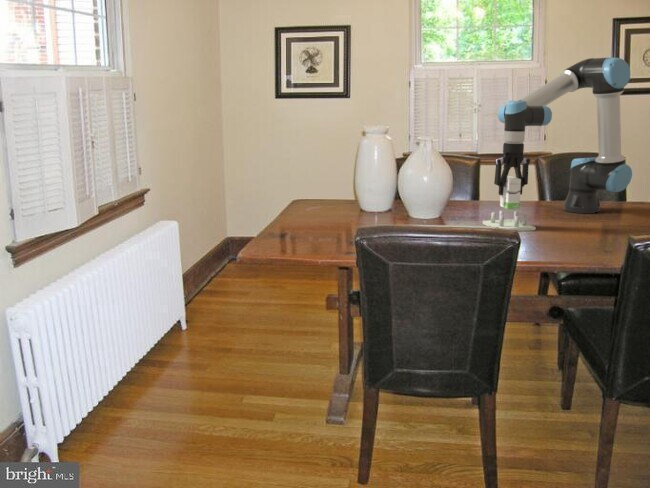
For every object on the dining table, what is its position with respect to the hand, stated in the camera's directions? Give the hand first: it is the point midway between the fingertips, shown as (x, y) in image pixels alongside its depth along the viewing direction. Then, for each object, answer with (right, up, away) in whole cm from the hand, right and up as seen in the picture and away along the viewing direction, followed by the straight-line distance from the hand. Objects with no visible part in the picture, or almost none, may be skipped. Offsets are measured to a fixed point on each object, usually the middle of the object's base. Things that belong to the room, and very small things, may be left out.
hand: (509, 203), depth 269 cm
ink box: (0, -2, 0) cm, 2 cm away
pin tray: (0, -9, +2) cm, 9 cm away
